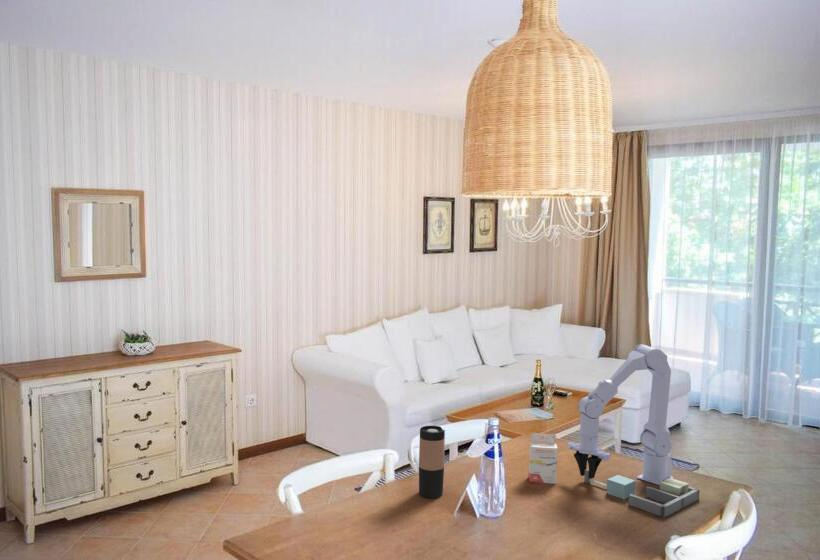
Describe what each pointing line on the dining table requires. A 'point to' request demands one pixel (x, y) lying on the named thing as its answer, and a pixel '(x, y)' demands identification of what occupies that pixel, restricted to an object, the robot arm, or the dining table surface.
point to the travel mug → (431, 461)
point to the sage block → (674, 486)
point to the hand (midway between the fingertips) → (587, 476)
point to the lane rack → (670, 499)
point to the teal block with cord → (615, 485)
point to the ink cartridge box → (543, 459)
